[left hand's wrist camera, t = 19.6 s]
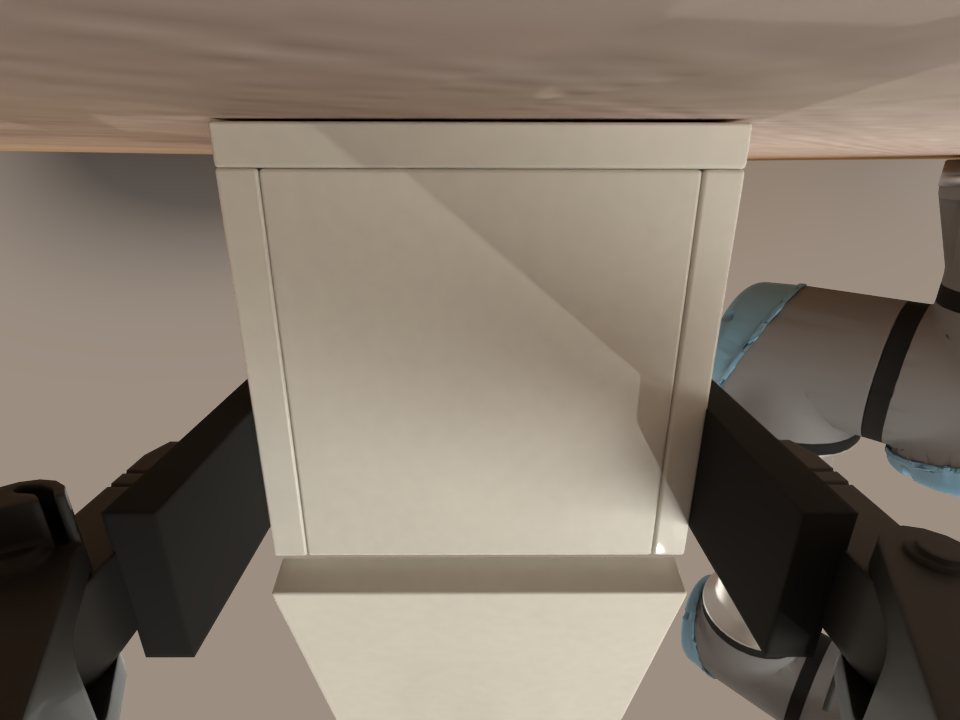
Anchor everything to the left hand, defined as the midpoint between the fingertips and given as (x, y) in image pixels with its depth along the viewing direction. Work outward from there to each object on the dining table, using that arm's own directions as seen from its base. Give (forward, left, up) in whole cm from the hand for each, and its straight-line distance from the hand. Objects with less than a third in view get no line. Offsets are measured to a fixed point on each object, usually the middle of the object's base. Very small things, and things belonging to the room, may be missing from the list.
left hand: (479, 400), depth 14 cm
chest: (+4, -3, -6) cm, 8 cm away
